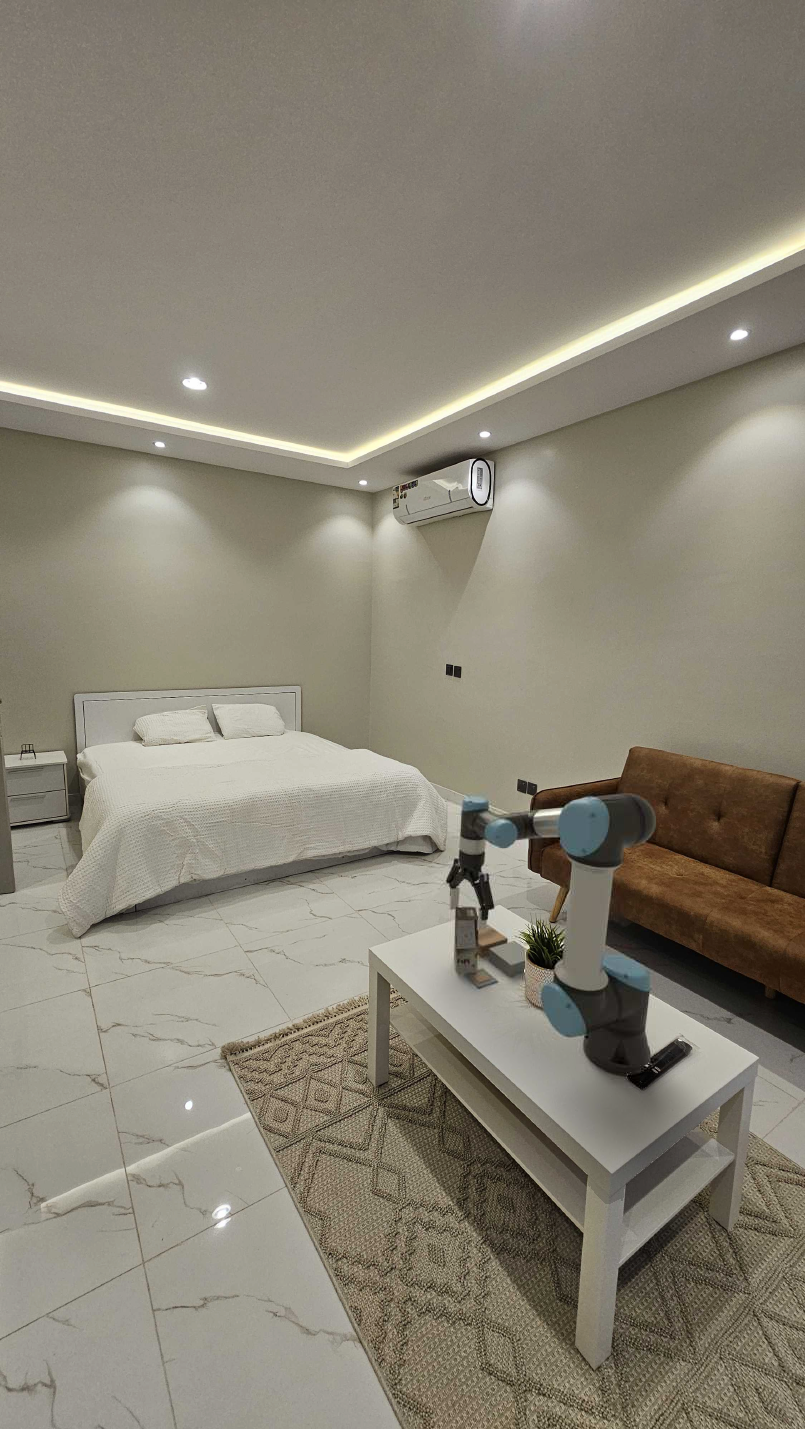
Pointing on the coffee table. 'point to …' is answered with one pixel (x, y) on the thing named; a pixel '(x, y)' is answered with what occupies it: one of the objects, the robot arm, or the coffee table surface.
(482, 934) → the walnut block
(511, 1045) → the coffee table surface
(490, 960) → the grey square block
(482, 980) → the square coaster
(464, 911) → the coffee box
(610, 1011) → the robot arm
